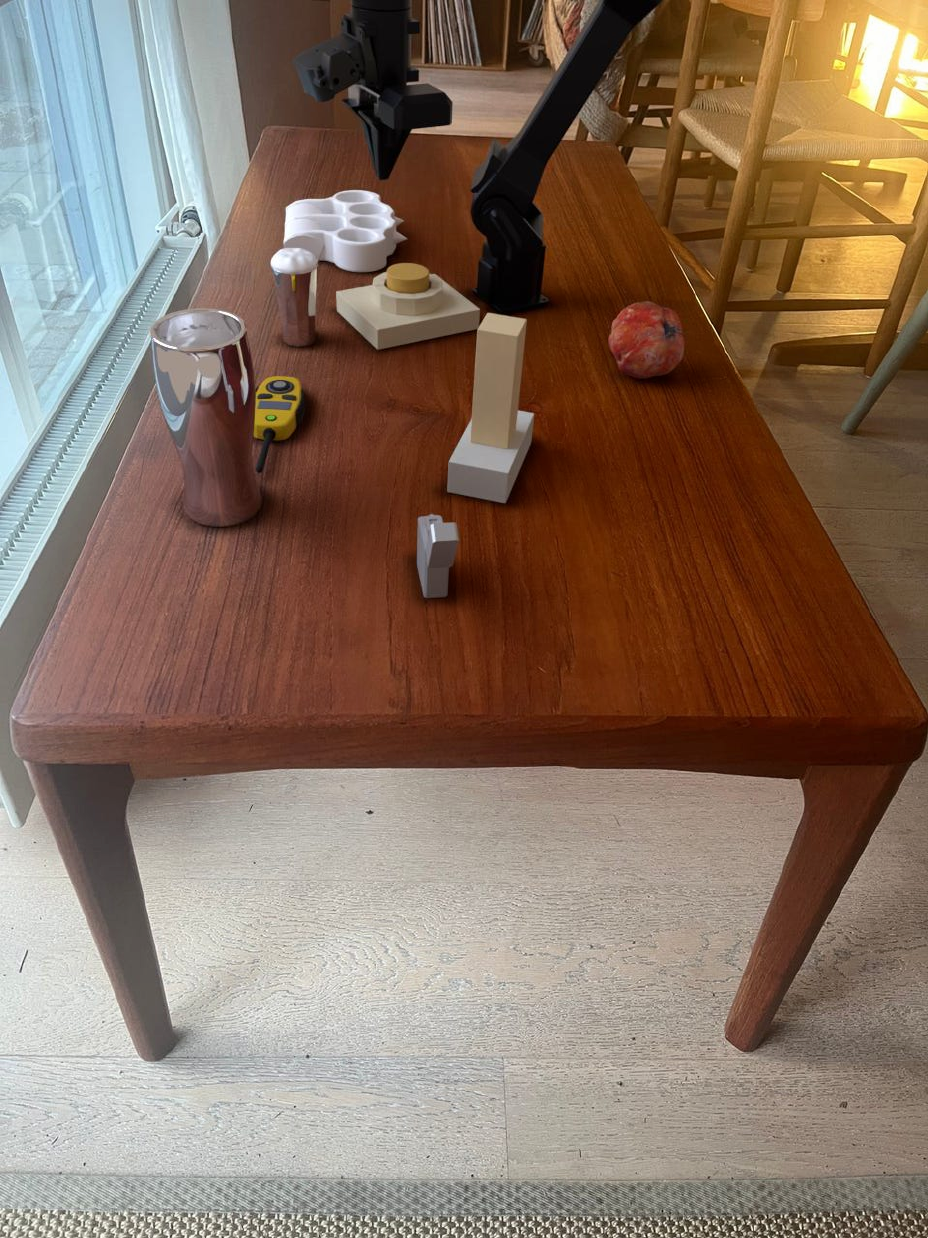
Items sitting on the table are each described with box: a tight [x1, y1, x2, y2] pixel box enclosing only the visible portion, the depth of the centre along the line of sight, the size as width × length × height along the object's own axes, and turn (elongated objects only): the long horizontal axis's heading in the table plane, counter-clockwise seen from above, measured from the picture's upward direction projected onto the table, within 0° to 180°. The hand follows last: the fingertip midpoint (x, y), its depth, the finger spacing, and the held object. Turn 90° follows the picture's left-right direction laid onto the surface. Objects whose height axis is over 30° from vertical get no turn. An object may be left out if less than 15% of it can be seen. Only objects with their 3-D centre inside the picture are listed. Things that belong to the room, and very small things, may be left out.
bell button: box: [386, 262, 430, 294], centre depth 102 cm, size 4×4×2 cm
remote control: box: [253, 375, 306, 474], centre depth 86 cm, size 5×2×15 cm
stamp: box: [446, 312, 535, 504], centre depth 80 cm, size 5×10×13 cm, turn 165°
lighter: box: [416, 513, 460, 599], centre depth 69 cm, size 7×2×8 cm, turn 10°
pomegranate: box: [608, 300, 685, 380], centre depth 96 cm, size 7×7×10 cm
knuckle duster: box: [283, 189, 408, 273], centre depth 119 cm, size 3×18×15 cm
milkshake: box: [270, 246, 324, 348], centre depth 96 cm, size 4×5×10 cm
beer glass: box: [149, 307, 263, 528], centre depth 73 cm, size 7×7×15 cm
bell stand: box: [335, 271, 481, 351], centre depth 103 cm, size 12×10×4 cm
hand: (382, 178), depth 102 cm, fingers closed
